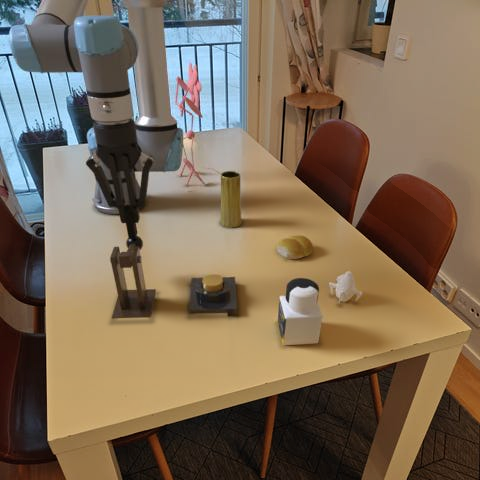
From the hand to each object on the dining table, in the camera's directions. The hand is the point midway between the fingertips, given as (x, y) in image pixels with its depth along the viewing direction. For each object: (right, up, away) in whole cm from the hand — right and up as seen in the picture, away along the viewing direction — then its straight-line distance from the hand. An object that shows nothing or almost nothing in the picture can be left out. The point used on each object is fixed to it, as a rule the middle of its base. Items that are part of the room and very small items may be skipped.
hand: (133, 235), depth 94 cm
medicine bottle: (+35, -21, -6) cm, 41 cm away
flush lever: (0, -5, -2) cm, 6 cm away
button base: (+17, -14, +2) cm, 22 cm away
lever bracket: (0, -15, 0) cm, 15 cm away
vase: (+21, +10, +31) cm, 39 cm away
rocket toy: (+46, -14, +3) cm, 48 cm away
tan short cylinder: (+17, -11, 0) cm, 20 cm away
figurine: (+10, +31, +57) cm, 66 cm away
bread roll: (+37, -1, +19) cm, 42 cm away
